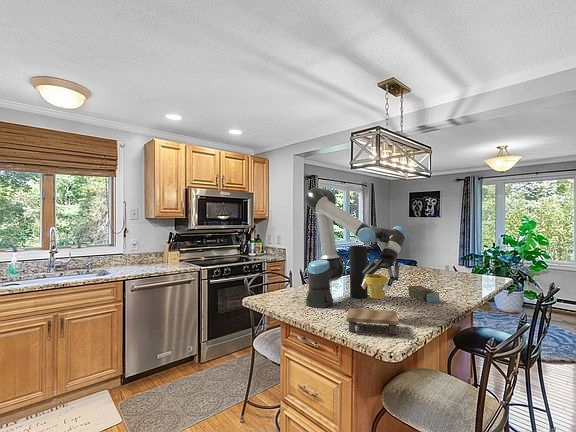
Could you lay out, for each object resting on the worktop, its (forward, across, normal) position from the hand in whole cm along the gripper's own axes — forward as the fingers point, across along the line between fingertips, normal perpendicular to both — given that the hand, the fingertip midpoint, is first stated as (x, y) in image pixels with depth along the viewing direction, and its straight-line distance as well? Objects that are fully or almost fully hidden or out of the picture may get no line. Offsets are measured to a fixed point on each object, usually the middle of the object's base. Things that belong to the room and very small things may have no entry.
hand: (373, 289), depth 142 cm
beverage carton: (-26, -1, -46) cm, 53 cm away
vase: (-12, +29, -33) cm, 46 cm away
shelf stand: (+18, -7, -1) cm, 19 cm away
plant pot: (+1, 0, -5) cm, 5 cm away
